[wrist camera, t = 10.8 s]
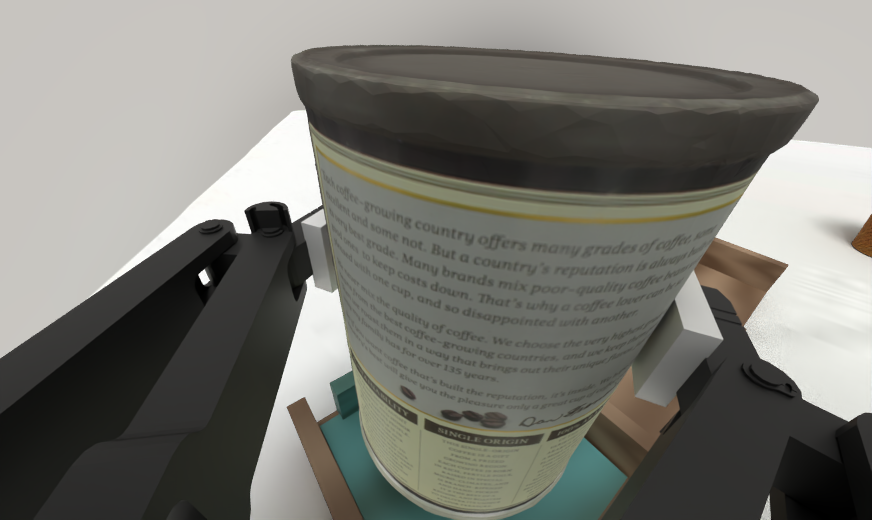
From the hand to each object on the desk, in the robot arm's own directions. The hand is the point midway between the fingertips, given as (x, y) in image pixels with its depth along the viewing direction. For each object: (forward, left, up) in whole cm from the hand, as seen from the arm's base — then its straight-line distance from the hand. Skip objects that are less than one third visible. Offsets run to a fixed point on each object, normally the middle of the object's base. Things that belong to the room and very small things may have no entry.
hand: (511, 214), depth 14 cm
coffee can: (-2, +4, -8) cm, 9 cm away
